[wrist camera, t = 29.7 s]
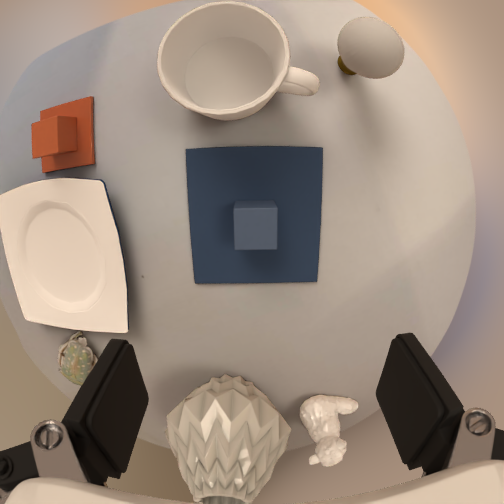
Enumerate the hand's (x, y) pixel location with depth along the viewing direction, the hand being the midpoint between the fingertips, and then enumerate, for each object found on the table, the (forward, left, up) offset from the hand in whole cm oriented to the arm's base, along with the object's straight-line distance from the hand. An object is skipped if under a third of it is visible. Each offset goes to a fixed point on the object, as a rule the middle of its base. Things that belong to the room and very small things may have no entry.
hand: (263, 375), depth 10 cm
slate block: (0, 0, -23) cm, 23 cm away
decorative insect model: (+21, -28, -24) cm, 42 cm away
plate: (+4, -25, -24) cm, 35 cm away
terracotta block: (-11, -22, -23) cm, 33 cm away
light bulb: (-17, +10, -24) cm, 31 cm away
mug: (-15, -1, -24) cm, 28 cm away
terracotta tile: (-11, -22, -23) cm, 34 cm away
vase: (+26, -4, -24) cm, 35 cm away
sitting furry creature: (+30, +10, -24) cm, 39 cm away
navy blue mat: (0, 0, -23) cm, 23 cm away
